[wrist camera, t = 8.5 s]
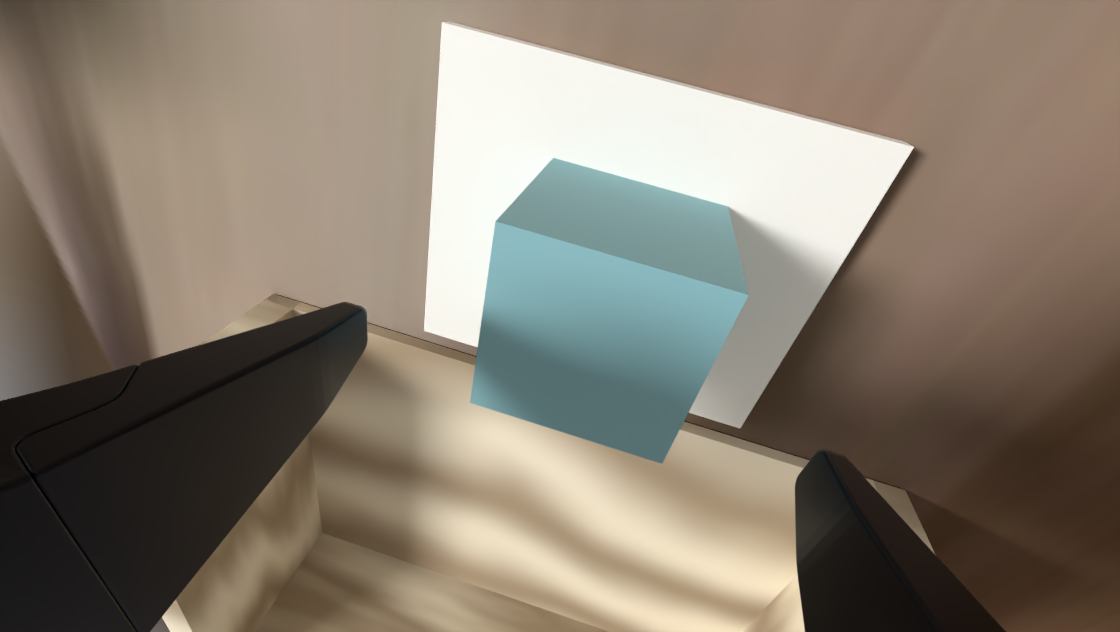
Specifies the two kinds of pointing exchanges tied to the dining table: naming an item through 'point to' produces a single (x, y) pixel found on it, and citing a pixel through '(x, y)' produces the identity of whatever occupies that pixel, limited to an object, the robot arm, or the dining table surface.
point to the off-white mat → (656, 159)
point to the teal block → (606, 307)
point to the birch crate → (498, 520)
